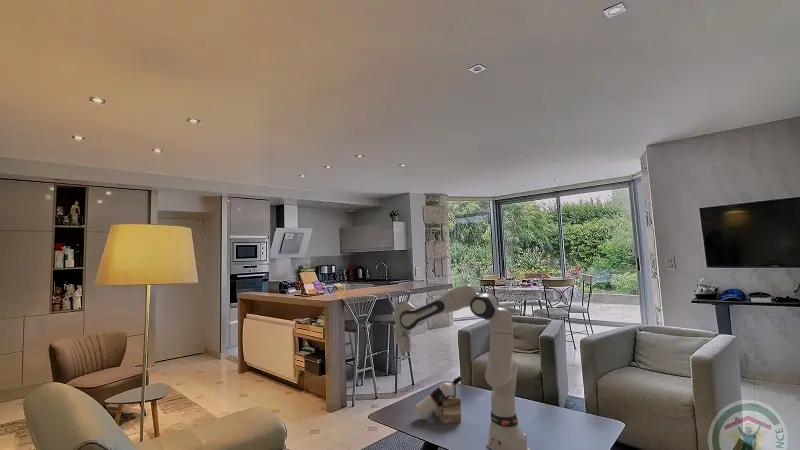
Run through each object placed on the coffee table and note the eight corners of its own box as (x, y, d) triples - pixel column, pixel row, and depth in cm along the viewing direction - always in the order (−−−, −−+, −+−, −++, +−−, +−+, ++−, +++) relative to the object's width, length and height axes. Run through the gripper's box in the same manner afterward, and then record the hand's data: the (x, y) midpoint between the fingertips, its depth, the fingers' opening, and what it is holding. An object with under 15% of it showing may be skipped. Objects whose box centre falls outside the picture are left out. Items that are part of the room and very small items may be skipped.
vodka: (419, 410, 216) (459, 376, 220) (426, 423, 208) (468, 387, 212) (412, 403, 211) (453, 367, 215) (419, 416, 203) (462, 379, 208)
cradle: (461, 421, 208) (460, 398, 209) (443, 423, 205) (443, 400, 206) (449, 409, 224) (449, 388, 225) (433, 411, 222) (432, 390, 223)
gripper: (413, 334, 203) (413, 360, 202) (403, 327, 223) (403, 351, 222) (401, 334, 202) (402, 361, 201) (392, 327, 221) (393, 352, 220)
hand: (403, 356), depth 211 cm, fingers closed
